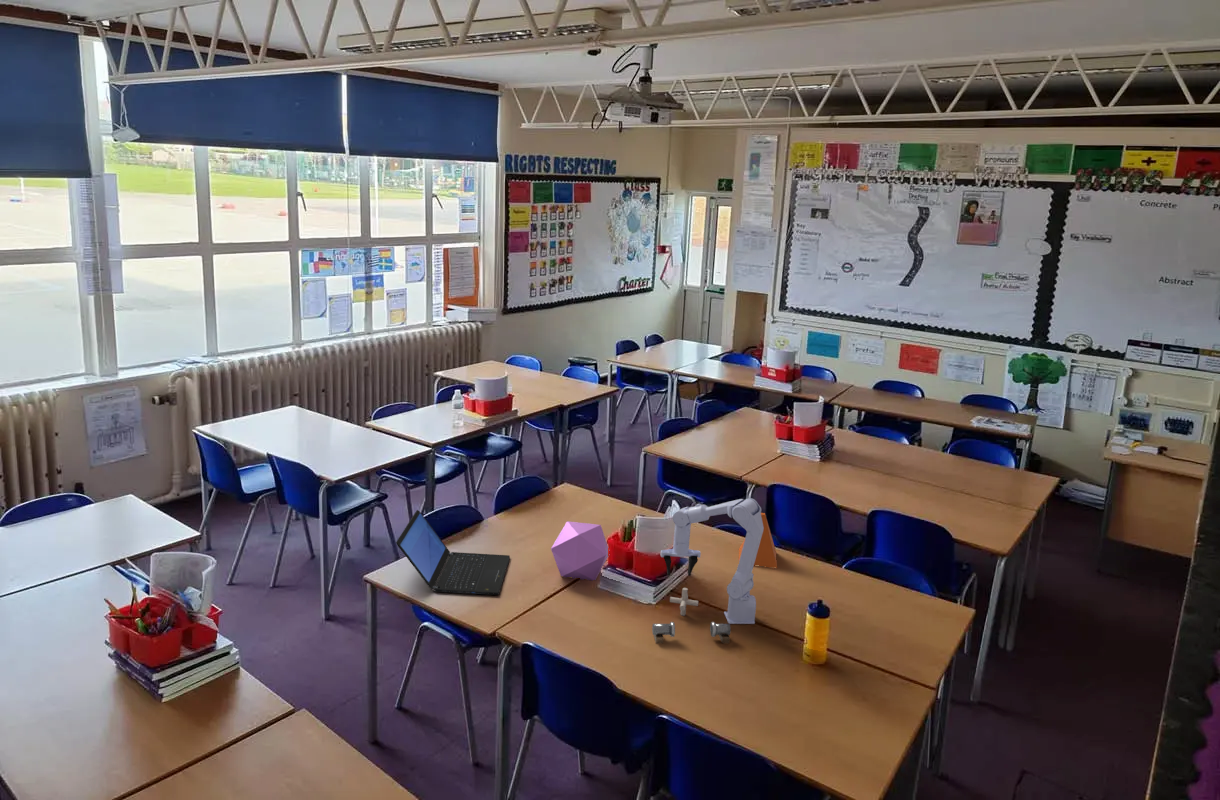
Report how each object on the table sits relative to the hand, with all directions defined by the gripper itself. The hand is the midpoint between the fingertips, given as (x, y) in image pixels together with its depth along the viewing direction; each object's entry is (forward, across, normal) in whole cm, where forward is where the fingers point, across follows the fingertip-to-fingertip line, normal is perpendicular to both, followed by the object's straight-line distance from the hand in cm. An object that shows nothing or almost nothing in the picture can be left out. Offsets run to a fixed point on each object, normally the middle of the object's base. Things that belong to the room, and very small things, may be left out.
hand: (678, 574), depth 313 cm
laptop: (+10, +82, -19) cm, 85 cm away
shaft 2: (+9, -9, +30) cm, 32 cm away
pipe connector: (+10, 0, +12) cm, 16 cm away
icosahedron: (+10, +35, -19) cm, 41 cm away
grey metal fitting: (+9, +10, +29) cm, 32 cm away
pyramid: (+10, -40, -34) cm, 54 cm away
